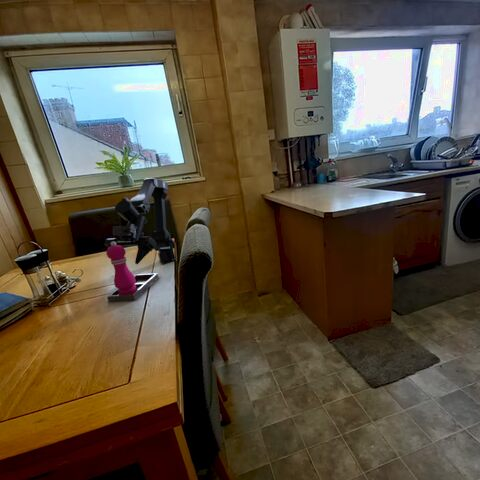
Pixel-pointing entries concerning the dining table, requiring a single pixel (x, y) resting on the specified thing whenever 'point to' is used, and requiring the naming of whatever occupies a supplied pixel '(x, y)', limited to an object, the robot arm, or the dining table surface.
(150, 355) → the dining table surface
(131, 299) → the stand
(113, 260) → the pepper mill
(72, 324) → the dining table surface
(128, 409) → the dining table surface
